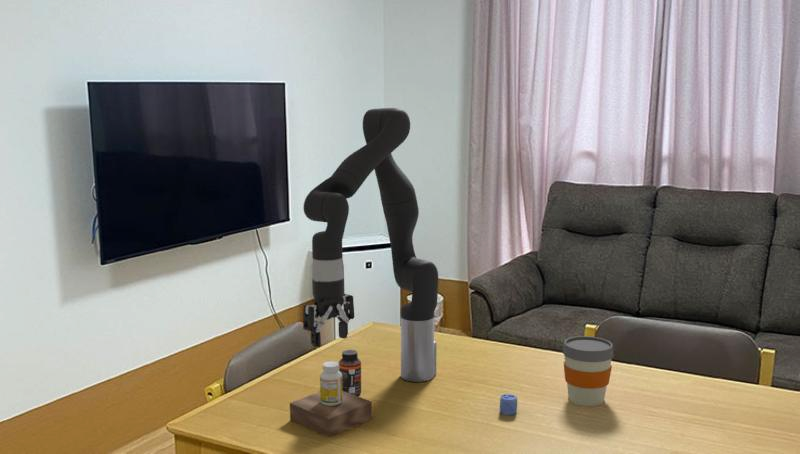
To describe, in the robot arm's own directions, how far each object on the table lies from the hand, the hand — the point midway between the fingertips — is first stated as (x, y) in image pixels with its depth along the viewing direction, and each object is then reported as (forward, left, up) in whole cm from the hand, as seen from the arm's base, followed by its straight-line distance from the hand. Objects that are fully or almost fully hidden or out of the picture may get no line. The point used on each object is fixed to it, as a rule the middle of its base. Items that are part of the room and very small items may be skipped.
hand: (329, 342), depth 198 cm
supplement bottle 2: (-15, -9, -20) cm, 26 cm away
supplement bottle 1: (0, 0, -15) cm, 15 cm away
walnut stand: (0, 0, -20) cm, 20 cm away
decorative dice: (-33, +29, -20) cm, 48 cm away
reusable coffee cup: (-53, +39, -20) cm, 69 cm away
